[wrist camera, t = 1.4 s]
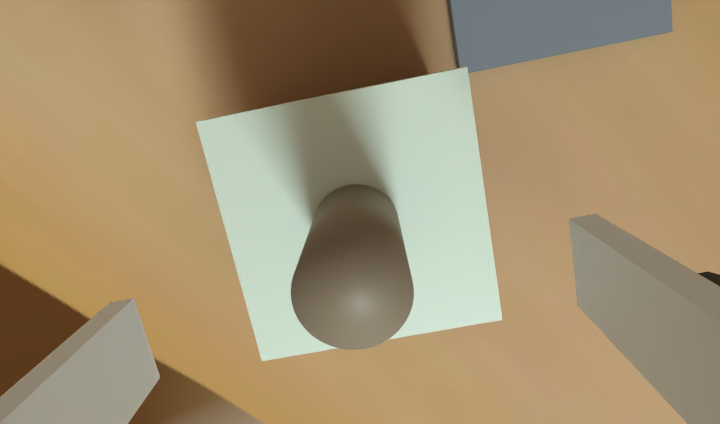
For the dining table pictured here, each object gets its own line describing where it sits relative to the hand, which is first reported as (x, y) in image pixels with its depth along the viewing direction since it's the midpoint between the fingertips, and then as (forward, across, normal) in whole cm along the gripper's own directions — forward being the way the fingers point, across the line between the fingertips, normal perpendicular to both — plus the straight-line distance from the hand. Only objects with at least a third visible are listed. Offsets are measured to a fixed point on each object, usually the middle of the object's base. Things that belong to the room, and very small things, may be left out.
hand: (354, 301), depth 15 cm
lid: (+8, 0, 0) cm, 8 cm away
